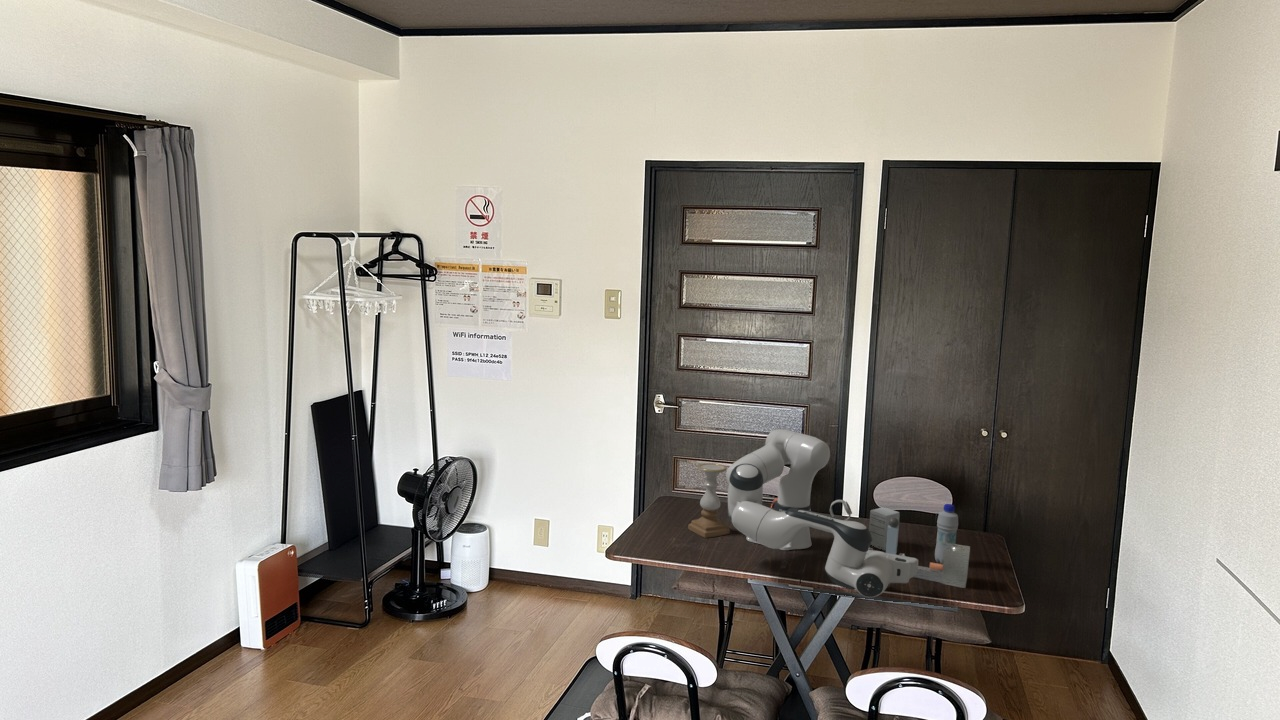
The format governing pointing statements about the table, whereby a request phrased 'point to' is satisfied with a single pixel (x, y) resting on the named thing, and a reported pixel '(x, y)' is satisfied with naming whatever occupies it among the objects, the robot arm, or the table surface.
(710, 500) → the candle holder
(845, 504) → the watch
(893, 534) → the ball-topped pillar
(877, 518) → the supplement box
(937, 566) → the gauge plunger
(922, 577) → the grey slide rail
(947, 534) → the bottle
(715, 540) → the table surface
